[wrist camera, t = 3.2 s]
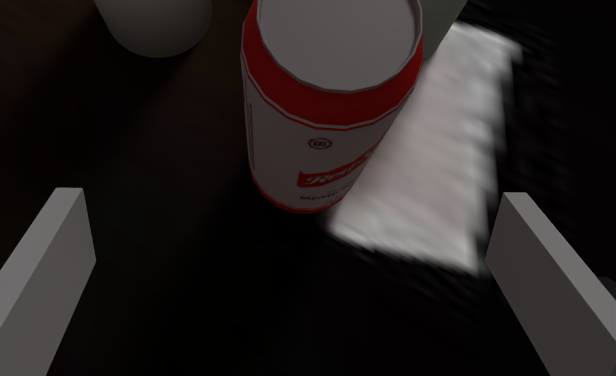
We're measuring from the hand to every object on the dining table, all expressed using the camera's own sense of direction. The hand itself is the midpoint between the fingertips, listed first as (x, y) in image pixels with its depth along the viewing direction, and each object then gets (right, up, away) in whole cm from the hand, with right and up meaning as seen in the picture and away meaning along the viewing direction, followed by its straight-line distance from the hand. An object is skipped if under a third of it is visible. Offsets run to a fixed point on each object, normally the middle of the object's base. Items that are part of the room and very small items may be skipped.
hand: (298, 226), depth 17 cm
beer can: (0, +2, +15) cm, 15 cm away
